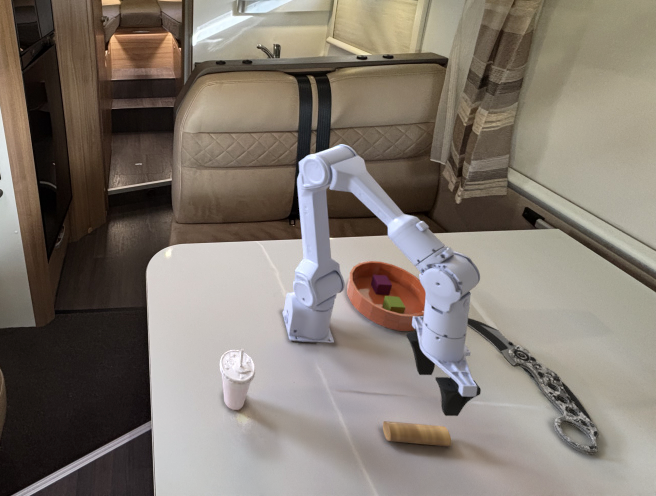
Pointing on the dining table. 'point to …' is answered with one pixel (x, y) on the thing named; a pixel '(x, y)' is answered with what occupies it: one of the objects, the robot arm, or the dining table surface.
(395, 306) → the chunk
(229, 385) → the smoothie
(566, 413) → the knife
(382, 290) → the chunk
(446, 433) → the stick
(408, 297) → the bowl
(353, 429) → the dining table surface
